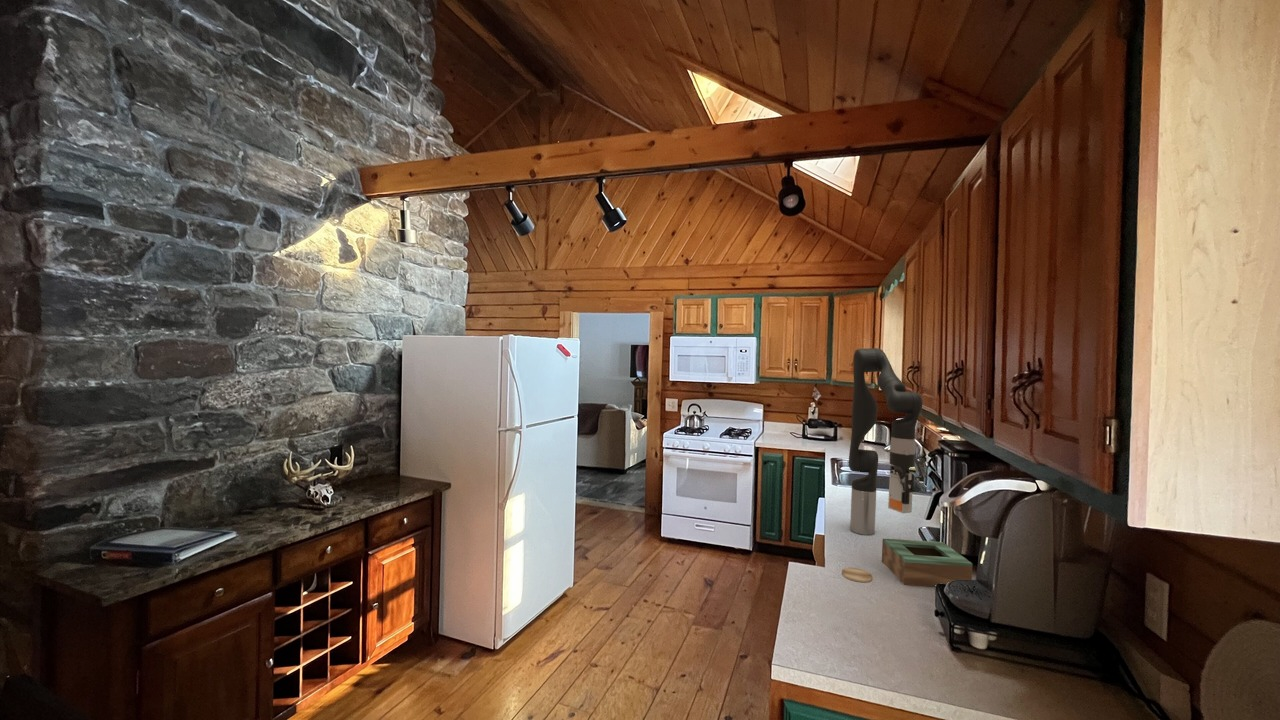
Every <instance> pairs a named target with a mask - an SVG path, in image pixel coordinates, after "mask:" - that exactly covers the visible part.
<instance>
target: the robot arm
mask: <svg viewBox="0 0 1280 720" xmlns="http://www.w3.org/2000/svg"><path fill="white" fill-rule="evenodd" d="M852 357H853V358H852V360H853V361H852V368H853V394H852V395H853V396H852V407H851V408H852V409H851V437H850V445H849V455H848V468H849V469H850V471H851V472H855V473H862V474H863V473H864V474H867V475H865V476H863V477H861V478H856V479H853V480H852V481H851V499H850V521H849V522H850V524H849V530H850V531H851V532H852V533H854V534H859V535H866V536H868V535H869V536H871V535H875V532H876V513H877V512H876V511H877V509H876V507H877V505H876V504H877V478H878V470H879V469H878V468H879V454H878V452H877V451H876V450H871V449H862V448H860V446H861V443H862V441H863V440H864V438H865V437H866V436H867V435H868V433H869V432H870V431H871V430H872V428H873V427H874V426H875V425H876V423H877V420H878V408H879V407H878V402H877V400H876V398H875V397H874V395H873V393H872V392H871V391H870V389H869V387H868V385H867V383H866V379H865V373H877V372H879V374H878V377H877V384H878V387H879V389H880V391H882V393H883V394H884V396H885V399H886V400H885V401H886V405H887V409H888V410H890V412H893V413H902V414H905V415H904V417H902V418H900V419H899V418H898V419H894V420H893V421H892V423H891V436H890V437H891V438H890V442H889V444H890V445H889V465H890V467H889V474H890V473H894V474H896V475H897V477H898V481H899V485H900V486H901V489H902V497H901V503H903V504H909V496H910V493H911V492H913V493H914V488H915V487H914V486H915V485H914V483H915V474H914V473H911V472H910V469H911V468H914V467H915V464H916V427H917V423H918V419H919V416H920V414H921V411H922V408H923V399H922V396H921V395H920V394H919V393H917V392H915V391H914V392H913V391H907V389H906V388H907V387H906V386H905V384H904V383H903V382H902V380H901V379H900V378H899V377H898V376H897V375H896V373H895V371H894V369H893V367H892V364H891V363H890V360H889V359H888V356H887V355H886V353H885V352H884V350H882V349H881V348H879V347H878V348H876V347H874V348H873V347H872V348H857V349H855V350H854V354H853V356H852ZM903 478H904V479H905V480H904V482H902V481H901V479H903ZM908 480H909V481H908ZM910 485H911V487H910Z"/></svg>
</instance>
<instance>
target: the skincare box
mask: <svg viewBox="0 0 1280 720" xmlns="http://www.w3.org/2000/svg"><path fill="white" fill-rule="evenodd" d="M904 480H905V479H904V478H903V479H901V481H902V482H904ZM908 481H909V480H908ZM888 485H889V486H888V487H889V488H888V504H887V508H888V509H890V510H892V511H896V512H898V513H901V514H903V515H904V514H910V513H913V508H912V507H913V493H914V491H913V492H911V493H910V496H909V504H903V503H901V497H902V489H901V486H900V485H899V481H898V477H897V475H896V474H894V473H890V472H889V483H888ZM910 487H911V485H910Z"/></svg>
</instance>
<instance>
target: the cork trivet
mask: <svg viewBox="0 0 1280 720" xmlns="http://www.w3.org/2000/svg"><path fill="white" fill-rule="evenodd" d="M841 575H842V577H844V578H845V579H848V580H850V581H852V582H855V583H856V582H857V583H870V582H872V580H873V574H872V573H870V572H869V571H867V570H864V569H861V568H857V567H845V568H842V570H841Z"/></svg>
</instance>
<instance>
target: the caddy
mask: <svg viewBox="0 0 1280 720" xmlns="http://www.w3.org/2000/svg"><path fill="white" fill-rule="evenodd" d="M881 545H882V546H881V547H882V548H881V563H882V564H884V565H885V567H887V568H888V569H889V570H890V571H891V573H892V574H893V575H895V576H896V578H897V579H898V580H899V581H900V582H901V583H902V584H903V585H907V586H917V587H920V586H921V587H935V585H936V584H937V583H942V584H947V583H948V582H951V581H954V580H972V581H973V563H972V562H971V561H969V559H967V558H966V557H964V556H963V555H961V554H960V553H958V552H957V551H956V550H955V549H953V548H952V547H951V546H949V545H948V544H946V543H945V542H943V541H931V540H915V539H914V540H913V539H897V538H882V544H881ZM935 588H936V587H935Z"/></svg>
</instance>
